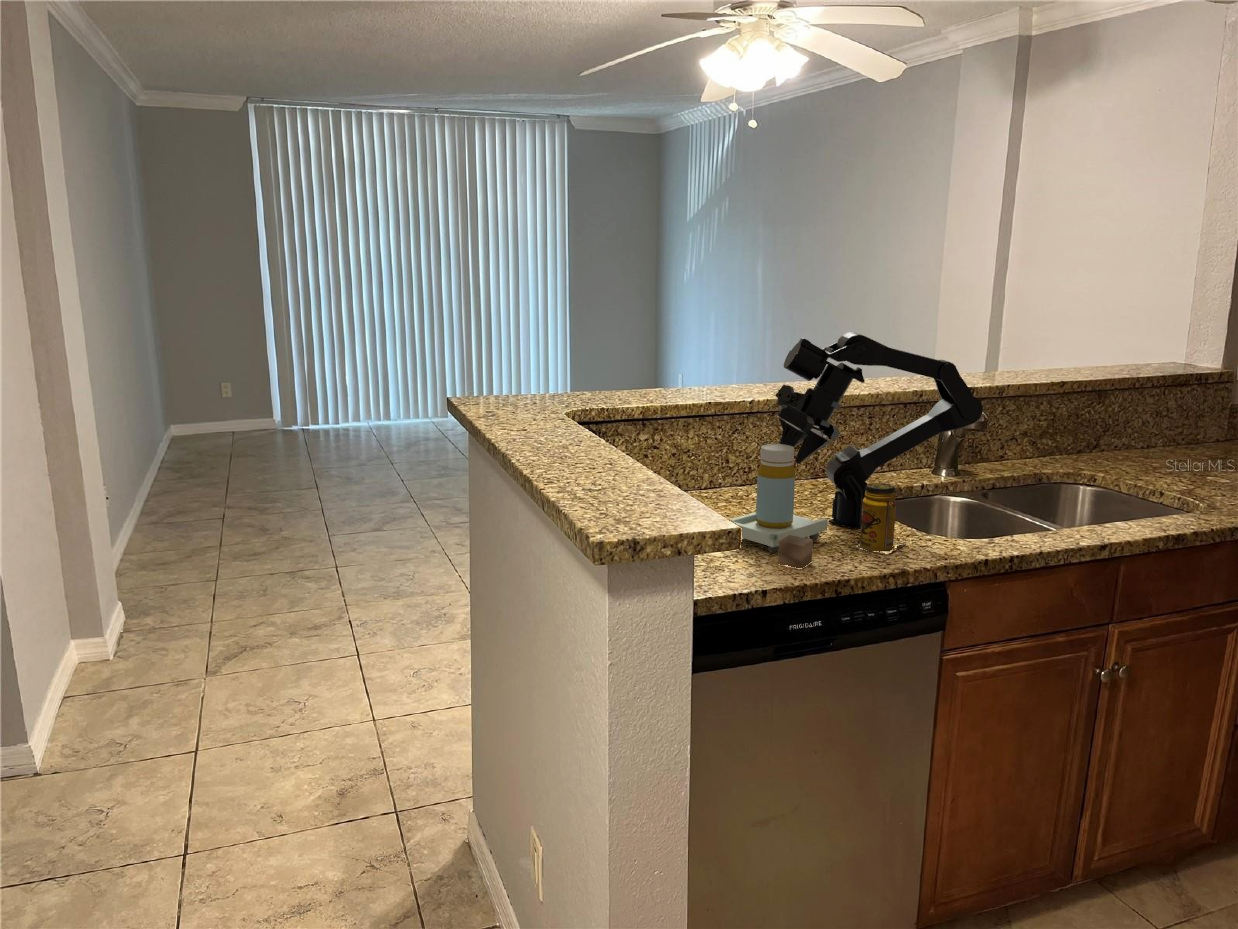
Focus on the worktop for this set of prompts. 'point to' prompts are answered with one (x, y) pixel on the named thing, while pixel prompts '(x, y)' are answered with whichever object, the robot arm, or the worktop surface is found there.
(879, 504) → the condiment
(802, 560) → the walnut block
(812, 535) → the tray
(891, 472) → the worktop surface
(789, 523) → the bottle
